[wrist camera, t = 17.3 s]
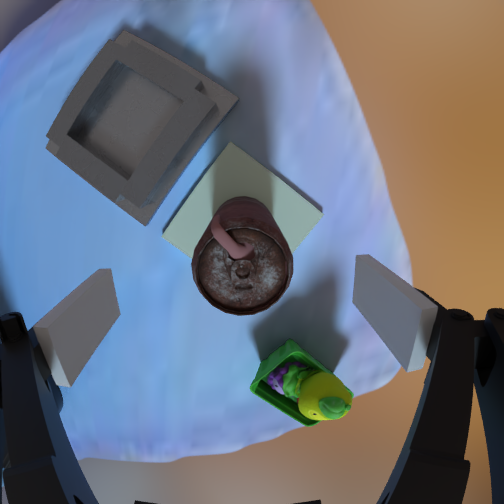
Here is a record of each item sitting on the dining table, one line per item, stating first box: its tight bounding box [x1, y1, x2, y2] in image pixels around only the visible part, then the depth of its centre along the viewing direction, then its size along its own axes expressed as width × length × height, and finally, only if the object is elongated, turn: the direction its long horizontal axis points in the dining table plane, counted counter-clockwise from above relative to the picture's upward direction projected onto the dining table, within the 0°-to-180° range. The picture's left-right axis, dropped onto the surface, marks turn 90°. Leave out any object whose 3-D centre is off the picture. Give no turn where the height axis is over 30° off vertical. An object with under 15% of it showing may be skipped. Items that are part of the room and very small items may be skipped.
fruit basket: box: [250, 339, 354, 426], centre depth 31 cm, size 11×9×11 cm
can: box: [191, 196, 293, 316], centre depth 24 cm, size 6×6×14 cm
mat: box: [162, 142, 324, 258], centre depth 31 cm, size 12×12×1 cm
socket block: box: [46, 30, 239, 226], centre depth 26 cm, size 16×16×4 cm
